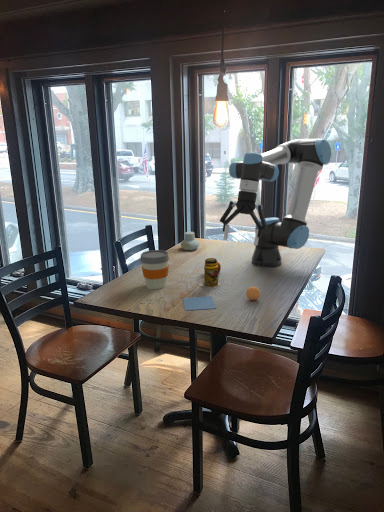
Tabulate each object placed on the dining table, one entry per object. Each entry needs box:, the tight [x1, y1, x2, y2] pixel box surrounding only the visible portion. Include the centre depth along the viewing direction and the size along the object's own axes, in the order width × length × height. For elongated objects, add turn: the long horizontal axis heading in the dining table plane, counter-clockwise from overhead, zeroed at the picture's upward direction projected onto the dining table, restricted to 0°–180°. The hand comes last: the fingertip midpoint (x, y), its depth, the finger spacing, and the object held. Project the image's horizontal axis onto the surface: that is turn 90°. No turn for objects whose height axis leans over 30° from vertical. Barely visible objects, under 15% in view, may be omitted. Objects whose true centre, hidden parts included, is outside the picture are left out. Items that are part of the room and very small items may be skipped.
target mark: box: [182, 295, 217, 312], centre depth 161 cm, size 12×12×1 cm
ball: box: [245, 286, 261, 301], centre depth 162 cm, size 6×6×6 cm
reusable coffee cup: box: [140, 249, 170, 290], centre depth 179 cm, size 13×13×15 cm
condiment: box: [197, 257, 222, 289], centre depth 179 cm, size 7×8×12 cm
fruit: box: [217, 260, 222, 275], centre depth 192 cm, size 8×8×8 cm
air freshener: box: [180, 231, 200, 251], centre depth 235 cm, size 11×8×10 cm
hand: (240, 242), depth 167 cm, fingers open, 13 cm apart
